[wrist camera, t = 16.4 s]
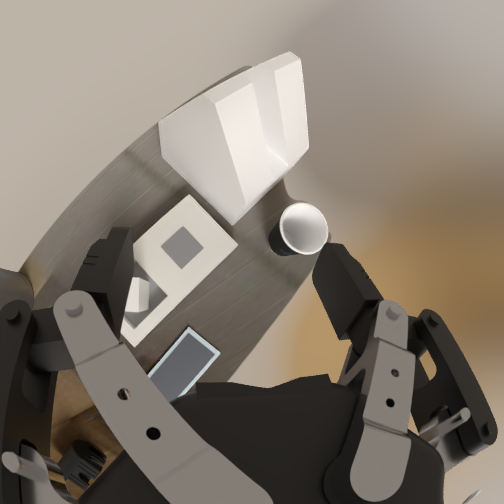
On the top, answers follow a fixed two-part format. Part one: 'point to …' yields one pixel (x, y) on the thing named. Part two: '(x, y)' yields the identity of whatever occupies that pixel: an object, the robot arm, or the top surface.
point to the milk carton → (240, 135)
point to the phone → (182, 365)
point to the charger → (138, 296)
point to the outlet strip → (174, 262)
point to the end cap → (81, 463)
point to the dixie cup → (299, 231)
